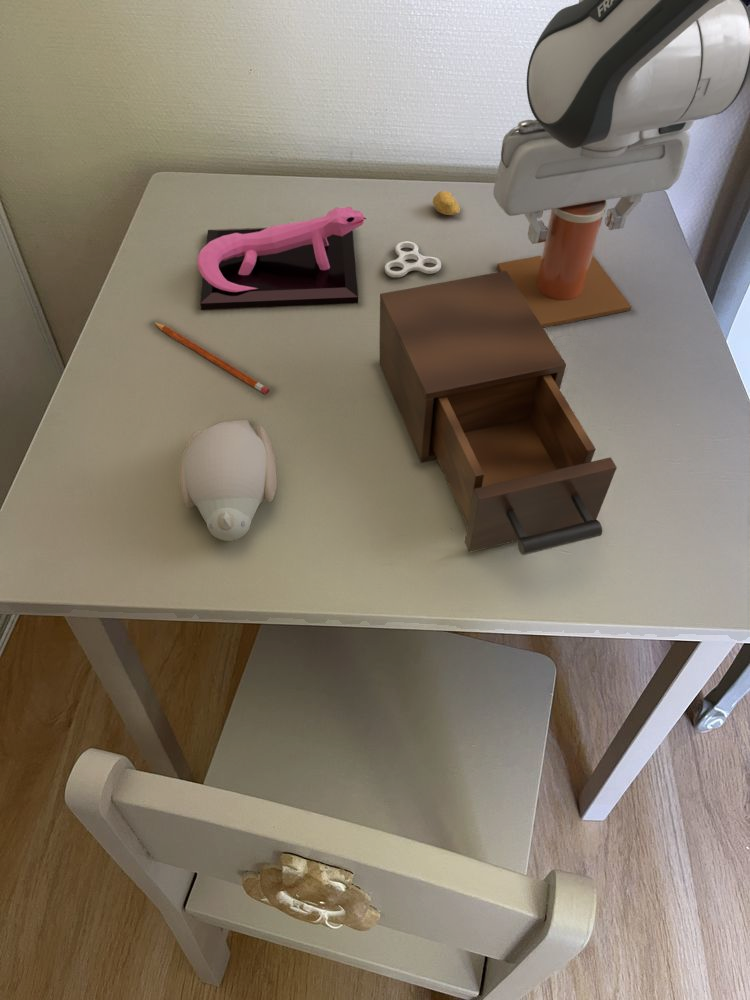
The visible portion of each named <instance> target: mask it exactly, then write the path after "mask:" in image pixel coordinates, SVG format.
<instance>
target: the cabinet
mask: <svg viewBox="0 0 750 1000" xmlns="http://www.w3.org/2000/svg"><path fill="white" fill-rule="evenodd" d="M378 359H379V360H378V361H379V364H378V365H379V368H380V370H381V371H382V374H383V377H384V379H385V382H386V384H387V386H388V389H389V391H390V393H391V396H392V398H393V401H394V403H395V406H396V409H397V410H398V412H399V415H400V417H401V420H402V421H403V424H404V427H405V429H406V431H407V433H408V436H409V438H410V441H411V443H412V445H413V447H414V449H415V453H416V454H417V455H416V456H417V457H418V459H419V460H418V461H420V463H421V464H423V463H426V462H427V463H428V462H432V461H435V460H436V461H437V457H436V455H435V453H434V451H433V448H432V446H431V444H430V436H431V424H432V413H433V401H434V398H437V397H442V396H446V395H451V394H456V393H461V392H466V391H470V390H475V389H480V388H485V387H489V386H494V385H499V384H504V383H509V382H513V381H518V380H523V379H528V378H532V377H537V376H542V375H547V374H550V375H551V376H552V378H553V380H554V381H555V383H556V385H557V386H558V388H559V389H560V390H561V388H562V382H563V379H564V376H565V372H566V369H567V363H566V362H565V360H564V358H563V357H562V355H561V354H560V352H559V351H558V349H557V347H556V346H555V344H554V343H553V341H552V340H551V338H550V336H549V334H548V332H546V330H545V327H544V328H543V327H542V325H541V324H540V322H539V321H538V319H537V317H536V316H535V314H534V313H533V311H532V310H531V308H530V306H529V305H528V303H527V302H526V300H525V299H524V297H523V295H522V294H521V292H520V291H519V289H518V288H517V286H516V284H515V283H514V281H513V280H512V278H511V276H510V275H509V273H508V272H507V271H502V272H500V271H497V272H492V273H486V274H479V275H475V276H469V277H463V278H457V279H454V280H453V279H452V280H447V281H443V282H437V283H431V284H426V285H420V286H415V287H410V288H403V289H397V290H393V291H388V292H382V293H379V358H378Z"/></svg>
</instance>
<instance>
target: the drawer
mask: <svg viewBox="0 0 750 1000" xmlns="http://www.w3.org/2000/svg"><path fill="white" fill-rule="evenodd" d="M430 444H431V446H432V448H433V451H434V453H435V455H436V457H437V459H436V461H437V462H438V464H439V466H440V468H441V471H442V474H443V476H444V478H445V480H446V482H447V485H448V487H449V489H450V491H451V494H452V496H453V498H454V500H455V502H456V505H457V507H458V509H459V512H460V514H461V516H462V519H463V521H464V523H465V525H466V533H465V537H464V544H465V547H466V548H467V551H468V552H469V553H472V552H476V551H480V550H481V551H482V550H484V549H490V548H493V547H496V546H500V545H505V544H509V543H512V542H517V548H518V551H519V553H520V555H522V556H526V555H530V554H534V553H537V552H541V551H546V550H549V549H550V550H551V549H553V548H557V547H561V546H565V545H570V544H573V543H578V542H581V541H586V540H591V539H594V538H597V537H601V536H602V535H603V526H602V524H601V522H600V520H598V517H599V514H600V511H601V509H602V506H603V504H604V502H605V498H606V496H607V494H608V491H609V488H610V486H611V483H612V481H613V478H614V476H615V473H616V471H617V465H616V464H615V462H614V460H613V458H612V457H611V456H610V457H606V458H605V457H604V458H601V459H597V460H593V458H594V455H595V452H596V447H595V445H594V443H593V441H592V440H591V439H590V437H589V435H588V434H587V432H586V430H585V429H584V427H583V425H582V423H581V422H580V421H579V419H578V417H577V416H576V414H575V412H574V411H573V409H572V407H571V405H570V404H569V403H568V401H567V399H566V397H565V396H564V394H563V393H562V391H561V388H560V389H559V388H558V386H557V385H556V383H555V381H554V380H553V378H552V376H551V375H550V374H547V375H542V376H537V377H532V378H528V379H523V380H518V381H513V382H509V383H504V384H499V385H494V386H489V387H485V388H480V389H475V390H470V391H466V392H461V393H456V394H451V395H446V396H442V397H437V398H434V401H433V413H432V424H431V436H430ZM592 460H593V461H592Z"/></svg>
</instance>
